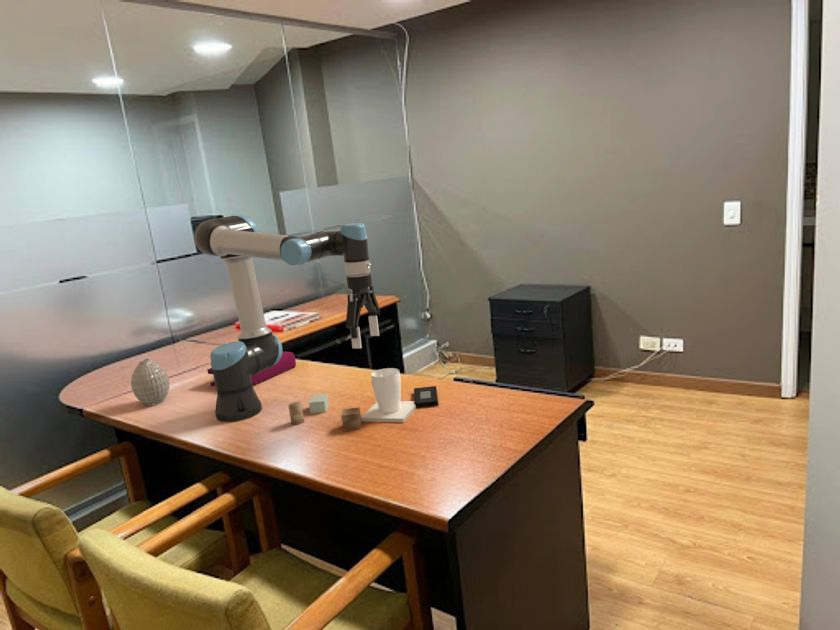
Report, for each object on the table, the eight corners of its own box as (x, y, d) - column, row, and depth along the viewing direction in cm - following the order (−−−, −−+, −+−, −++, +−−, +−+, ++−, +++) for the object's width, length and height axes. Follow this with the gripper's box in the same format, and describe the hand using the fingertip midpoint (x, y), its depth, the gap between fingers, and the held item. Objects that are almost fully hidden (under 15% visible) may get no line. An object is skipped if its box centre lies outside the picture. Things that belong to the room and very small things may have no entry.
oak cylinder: (289, 424, 194) (286, 406, 193) (295, 419, 198) (292, 401, 196) (300, 425, 193) (297, 406, 191) (306, 419, 196) (303, 402, 195)
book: (297, 368, 256) (294, 350, 254) (246, 391, 233) (242, 372, 231) (260, 364, 267) (257, 348, 265) (208, 387, 244) (205, 368, 242)
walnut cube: (343, 431, 184) (341, 415, 183) (345, 424, 189) (343, 409, 188) (360, 429, 184) (358, 413, 183) (361, 422, 189) (359, 407, 188)
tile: (361, 421, 190) (360, 417, 190) (378, 404, 203) (378, 400, 202) (403, 422, 185) (403, 418, 185) (418, 404, 198) (418, 401, 198)
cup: (400, 414, 188) (395, 376, 186) (372, 415, 190) (367, 378, 188) (407, 403, 197) (402, 367, 194) (379, 404, 199) (375, 368, 196)
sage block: (310, 414, 201) (308, 402, 200) (314, 406, 208) (312, 395, 207) (326, 412, 201) (324, 401, 200) (328, 404, 208) (327, 393, 207)
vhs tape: (414, 409, 196) (414, 403, 195) (414, 393, 209) (413, 388, 209) (438, 406, 195) (437, 400, 195) (436, 391, 209) (436, 385, 209)
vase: (130, 405, 231) (120, 362, 228) (163, 394, 240) (154, 352, 237) (144, 411, 222) (135, 367, 219) (178, 399, 231) (169, 356, 228)
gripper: (352, 282, 176) (360, 353, 181) (385, 266, 199) (392, 330, 204) (328, 283, 179) (337, 353, 184) (364, 267, 201) (371, 330, 206)
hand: (366, 341), depth 194 cm, fingers open, 13 cm apart
